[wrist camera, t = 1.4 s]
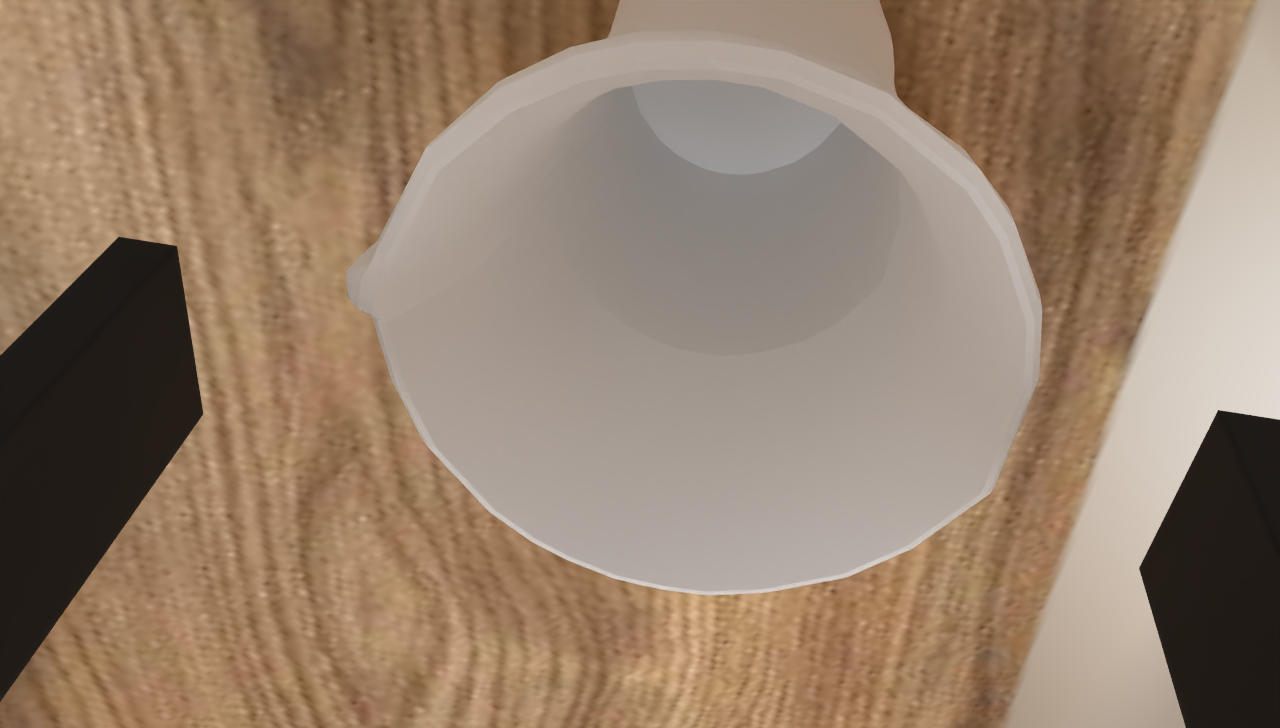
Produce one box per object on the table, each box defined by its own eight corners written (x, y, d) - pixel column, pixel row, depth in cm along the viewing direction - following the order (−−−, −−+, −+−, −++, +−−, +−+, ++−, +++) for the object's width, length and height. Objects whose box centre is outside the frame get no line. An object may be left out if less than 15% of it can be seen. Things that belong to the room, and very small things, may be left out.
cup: (556, -232, 20) (374, -59, 12) (1060, -74, 21) (1197, 191, 13) (473, 199, 26) (309, 512, 18) (876, 317, 26) (892, 676, 18)
